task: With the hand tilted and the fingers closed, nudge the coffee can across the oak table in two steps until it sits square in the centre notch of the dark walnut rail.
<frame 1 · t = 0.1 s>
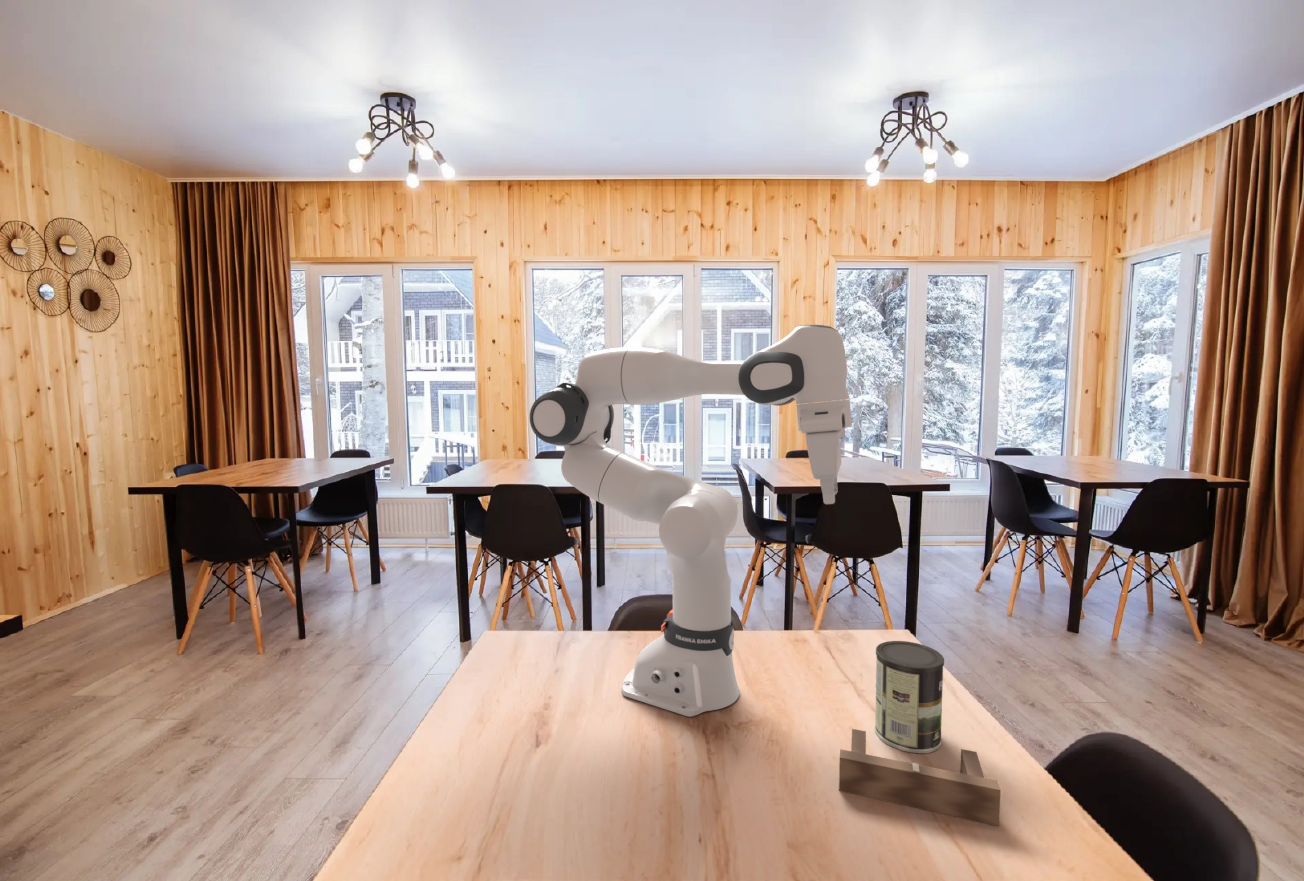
hand: (831, 498, 99), 39 cm above the table, tool pointing down, fingers open, 8 cm apart
coffee can: (906, 736, 95), on the table
walnut rail: (914, 802, 79), on the table
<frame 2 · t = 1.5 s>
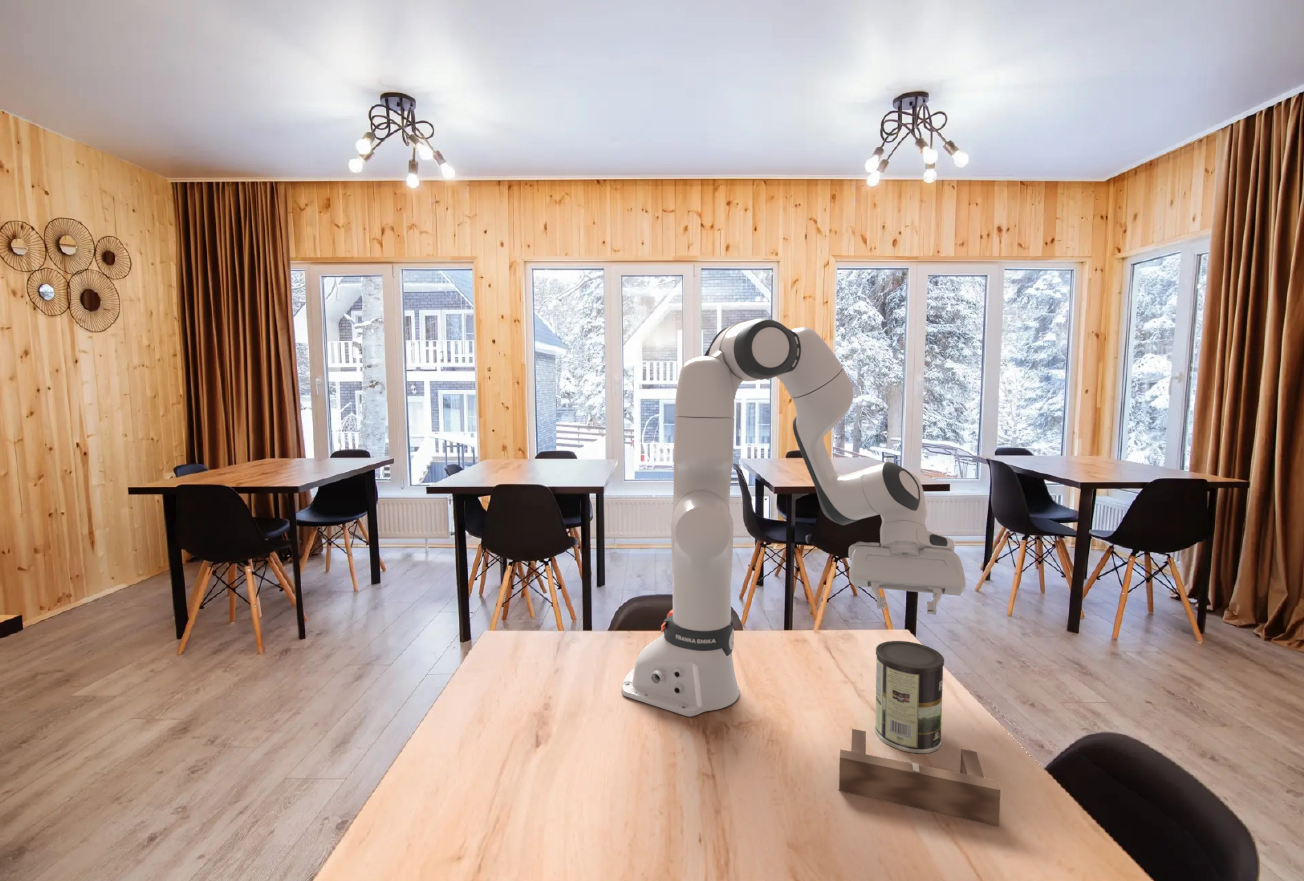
hand: (906, 610, 105), 17 cm above the table, tool tilted 45°, fingers open, 7 cm apart
nothing on the table moved.
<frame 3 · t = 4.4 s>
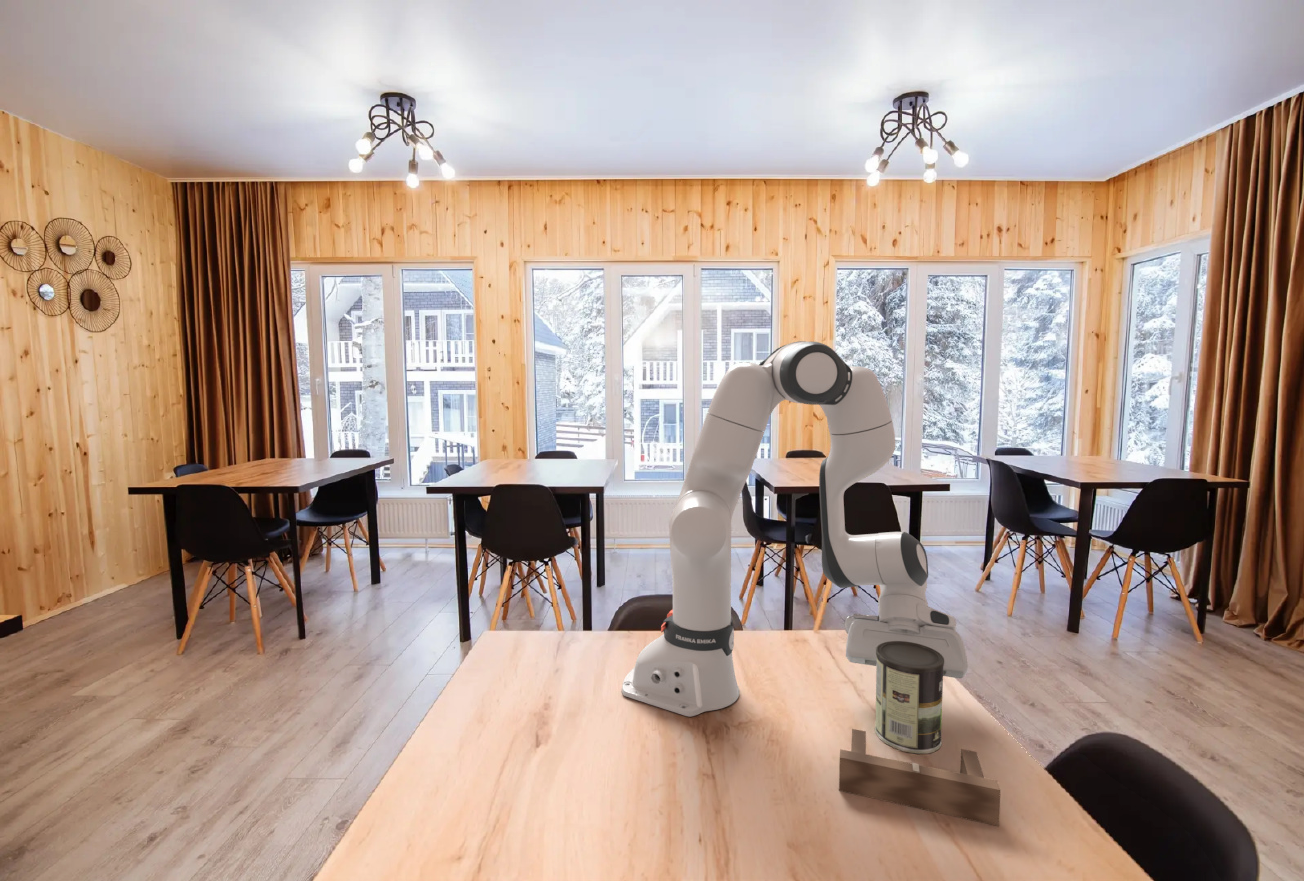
hand: (905, 694, 100), 4 cm above the table, tool tilted 45°, fingers closed
coffee can: (907, 736, 95), on the table, touching gripper
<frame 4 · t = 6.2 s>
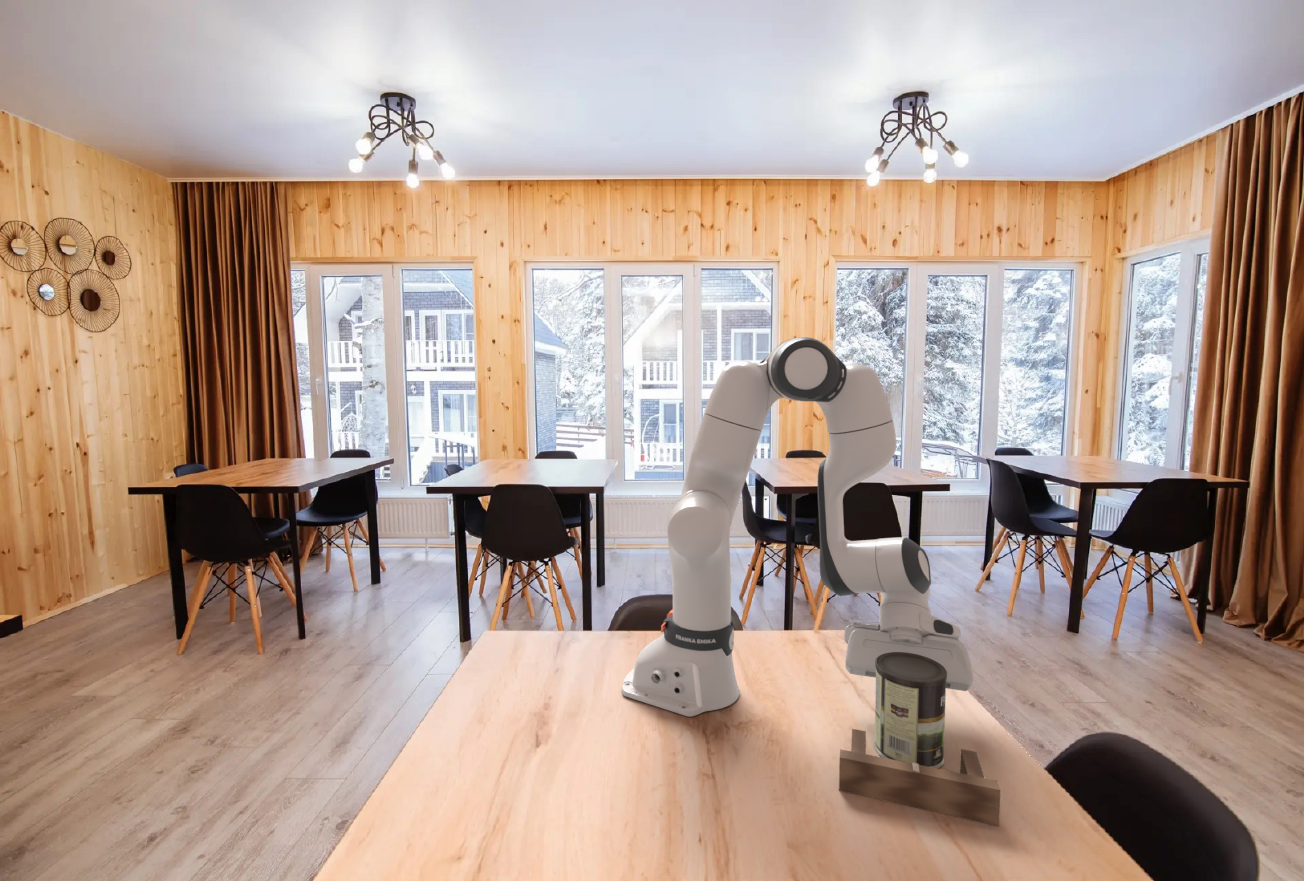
hand: (907, 707, 96), 4 cm above the table, tool tilted 45°, fingers closed, pressing on coffee can
coffee can: (907, 752, 91), on the table, touching gripper
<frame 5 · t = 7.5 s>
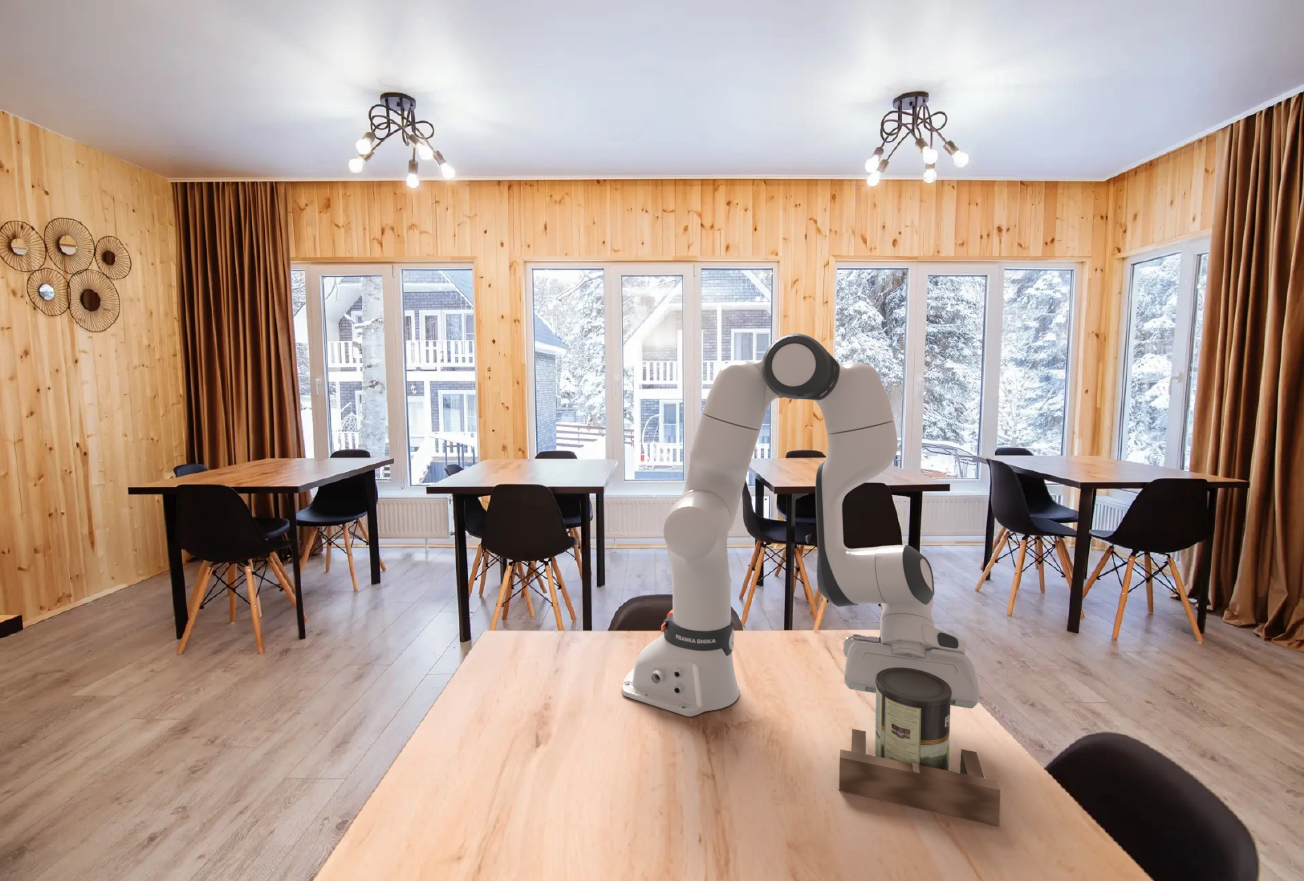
hand: (910, 726, 90), 4 cm above the table, tool tilted 45°, fingers closed, pressing on coffee can
coffee can: (910, 774, 86), on the table, touching gripper
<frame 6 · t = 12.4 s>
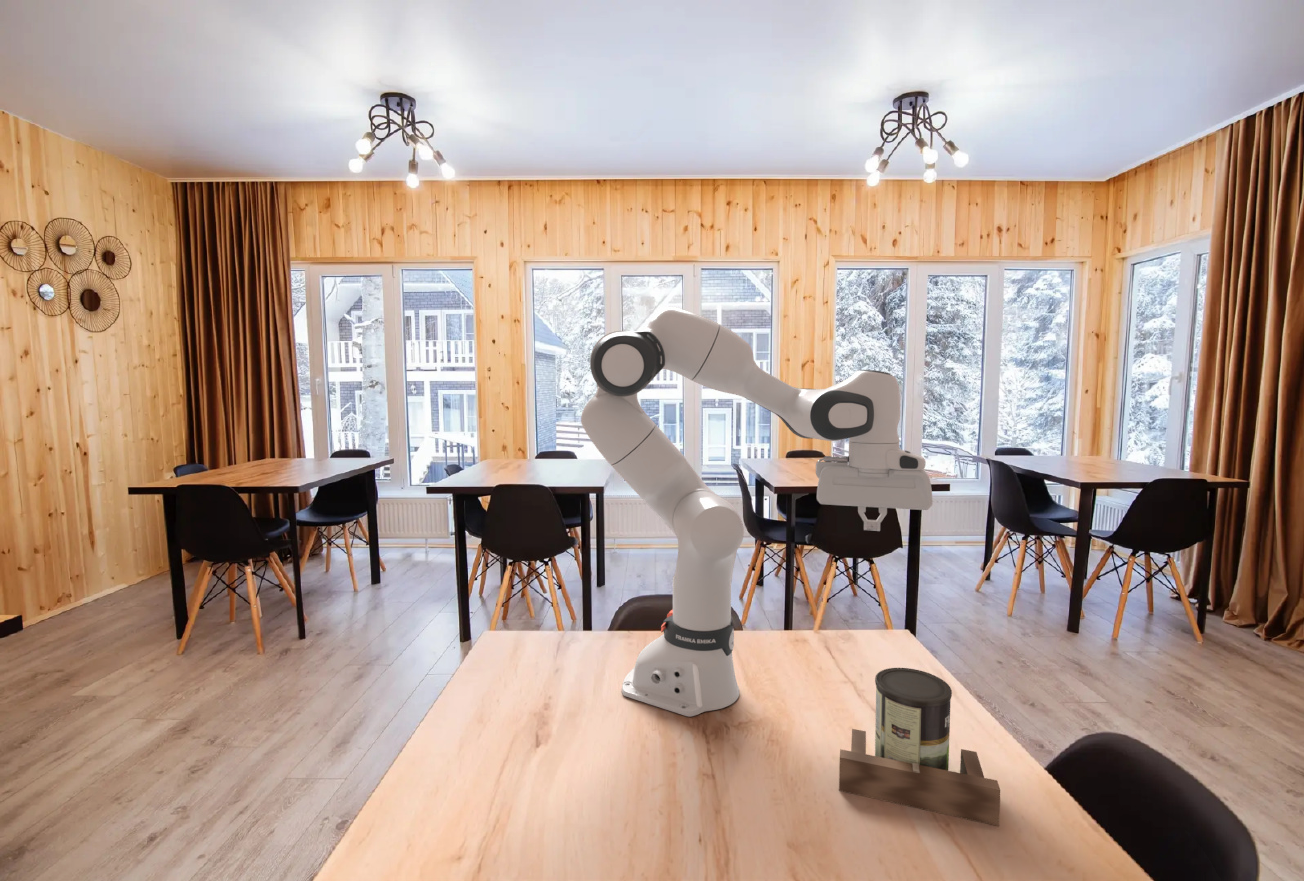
hand: (871, 530, 108), 31 cm above the table, tool pointing down, fingers closed
coffee can: (910, 775, 86), on the table
at the end: coffee can inside the target area (0.2 cm from its centre), on the table; coffee can tilted 0° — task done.
